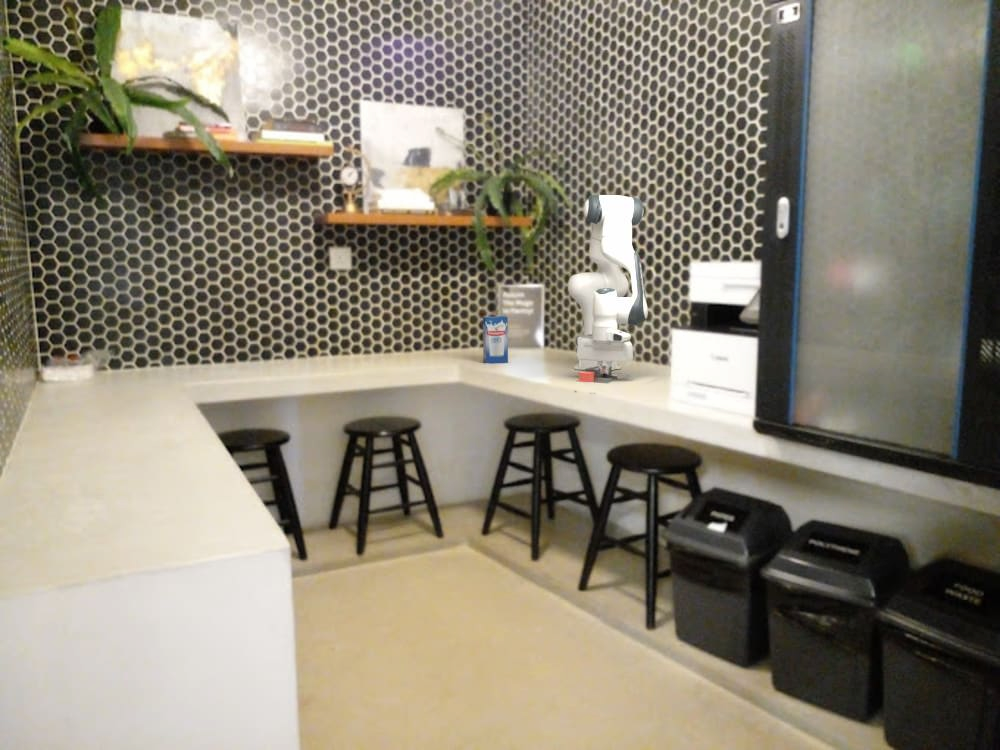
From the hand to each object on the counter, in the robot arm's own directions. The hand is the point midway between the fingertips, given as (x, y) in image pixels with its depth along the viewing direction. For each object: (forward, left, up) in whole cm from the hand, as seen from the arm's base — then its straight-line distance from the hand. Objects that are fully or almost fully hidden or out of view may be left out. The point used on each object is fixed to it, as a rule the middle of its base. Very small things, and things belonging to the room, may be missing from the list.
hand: (604, 373), depth 266 cm
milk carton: (-63, -40, -4) cm, 75 cm away
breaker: (-2, -3, -2) cm, 4 cm away
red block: (+3, -7, -2) cm, 8 cm away
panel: (-3, 0, -4) cm, 5 cm away
